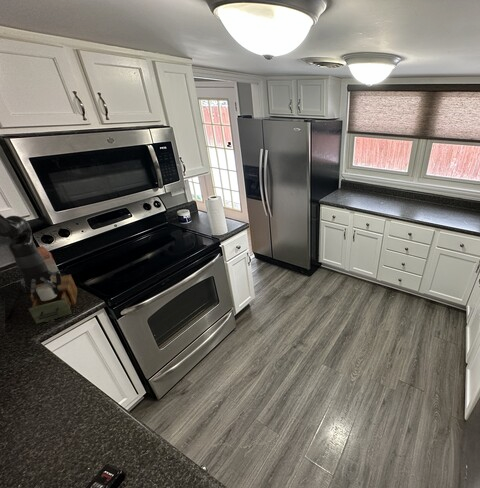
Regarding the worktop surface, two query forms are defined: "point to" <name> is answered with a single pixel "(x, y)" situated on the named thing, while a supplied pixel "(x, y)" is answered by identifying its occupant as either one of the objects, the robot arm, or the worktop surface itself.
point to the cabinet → (64, 287)
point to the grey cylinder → (46, 292)
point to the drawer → (51, 307)
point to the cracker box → (48, 260)
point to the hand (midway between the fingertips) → (48, 295)
